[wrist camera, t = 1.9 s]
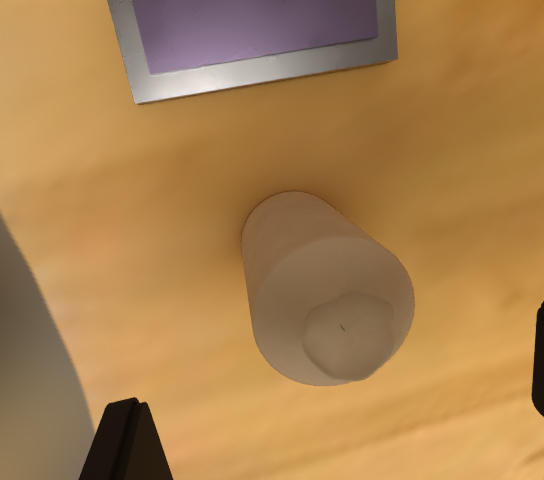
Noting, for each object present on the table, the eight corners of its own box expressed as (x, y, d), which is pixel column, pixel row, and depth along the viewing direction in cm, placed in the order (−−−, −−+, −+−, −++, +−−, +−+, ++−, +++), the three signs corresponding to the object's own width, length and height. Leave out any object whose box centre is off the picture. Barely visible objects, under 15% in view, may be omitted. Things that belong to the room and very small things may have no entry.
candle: (219, 237, 20) (214, 340, 11) (298, 167, 19) (369, 210, 10) (285, 305, 22) (333, 447, 12) (359, 242, 21) (471, 340, 12)
